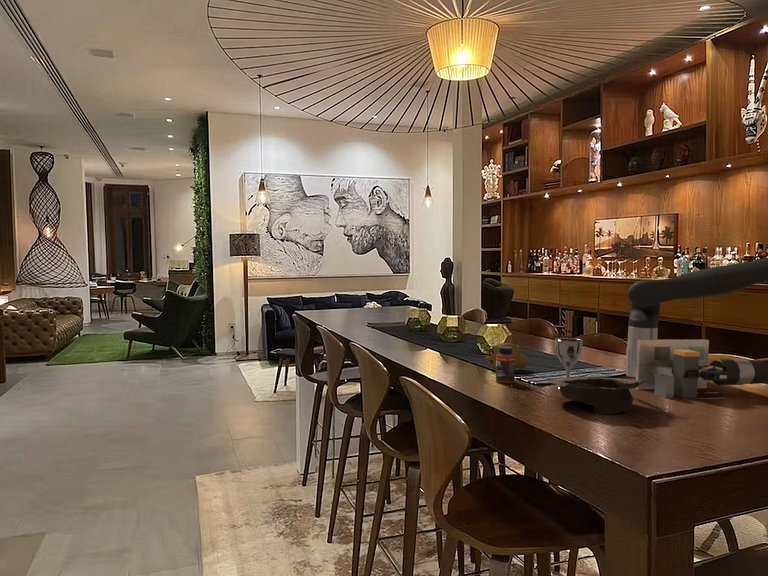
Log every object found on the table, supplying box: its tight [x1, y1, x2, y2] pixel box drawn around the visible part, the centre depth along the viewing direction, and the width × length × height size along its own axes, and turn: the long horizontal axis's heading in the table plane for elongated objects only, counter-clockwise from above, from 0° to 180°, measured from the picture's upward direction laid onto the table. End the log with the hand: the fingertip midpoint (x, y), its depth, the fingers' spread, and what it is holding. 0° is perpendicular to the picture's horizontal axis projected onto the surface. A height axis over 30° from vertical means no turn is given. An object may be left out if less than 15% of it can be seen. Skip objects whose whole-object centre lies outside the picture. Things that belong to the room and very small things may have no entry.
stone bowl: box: [547, 376, 646, 415], centre depth 158 cm, size 25×25×9 cm
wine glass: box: [554, 337, 583, 390], centre depth 180 cm, size 8×8×15 cm
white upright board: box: [635, 339, 725, 400], centre depth 170 cm, size 23×15×16 cm
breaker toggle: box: [673, 350, 700, 398], centre depth 167 cm, size 5×5×13 cm
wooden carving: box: [484, 342, 530, 370], centre depth 206 cm, size 16×5×10 cm, turn 108°
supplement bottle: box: [495, 347, 516, 385], centre depth 186 cm, size 6×6×11 cm
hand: (678, 372), depth 167 cm, fingers closed on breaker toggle, 4 cm apart
